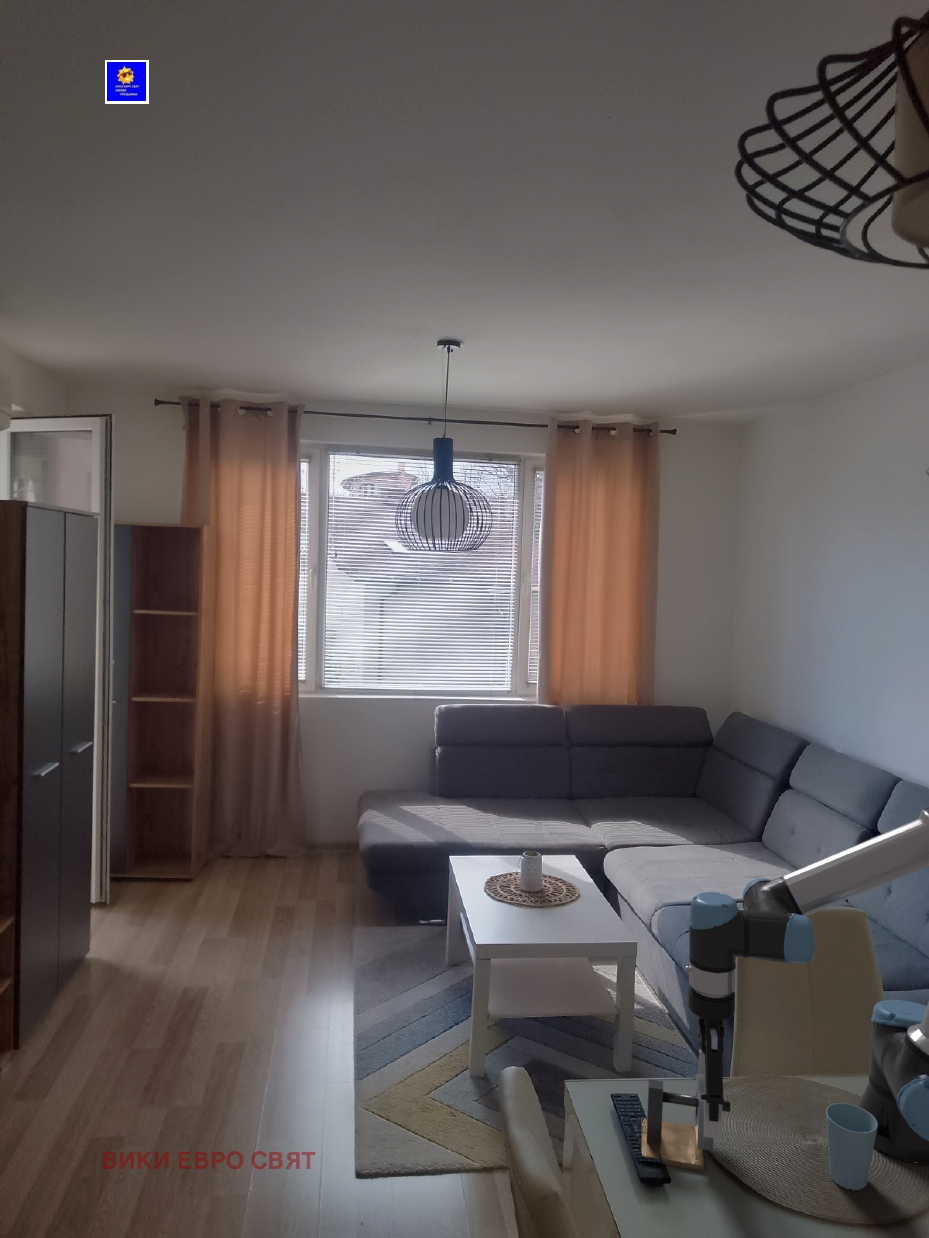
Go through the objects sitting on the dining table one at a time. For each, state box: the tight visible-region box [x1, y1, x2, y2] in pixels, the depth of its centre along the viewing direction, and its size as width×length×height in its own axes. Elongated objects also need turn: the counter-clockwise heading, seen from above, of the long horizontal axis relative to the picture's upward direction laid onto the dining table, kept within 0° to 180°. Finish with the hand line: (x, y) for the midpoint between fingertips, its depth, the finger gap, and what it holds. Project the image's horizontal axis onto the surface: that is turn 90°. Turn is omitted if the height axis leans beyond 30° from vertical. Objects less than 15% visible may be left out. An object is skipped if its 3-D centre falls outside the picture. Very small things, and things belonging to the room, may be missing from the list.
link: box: [693, 1073, 714, 1151], centre depth 145 cm, size 2×8×8 cm, turn 168°
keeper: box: [641, 1079, 731, 1172], centre depth 145 cm, size 14×10×10 cm
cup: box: [825, 1102, 878, 1191], centre depth 139 cm, size 8×8×10 cm
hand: (709, 1110), depth 145 cm, fingers open, 13 cm apart
